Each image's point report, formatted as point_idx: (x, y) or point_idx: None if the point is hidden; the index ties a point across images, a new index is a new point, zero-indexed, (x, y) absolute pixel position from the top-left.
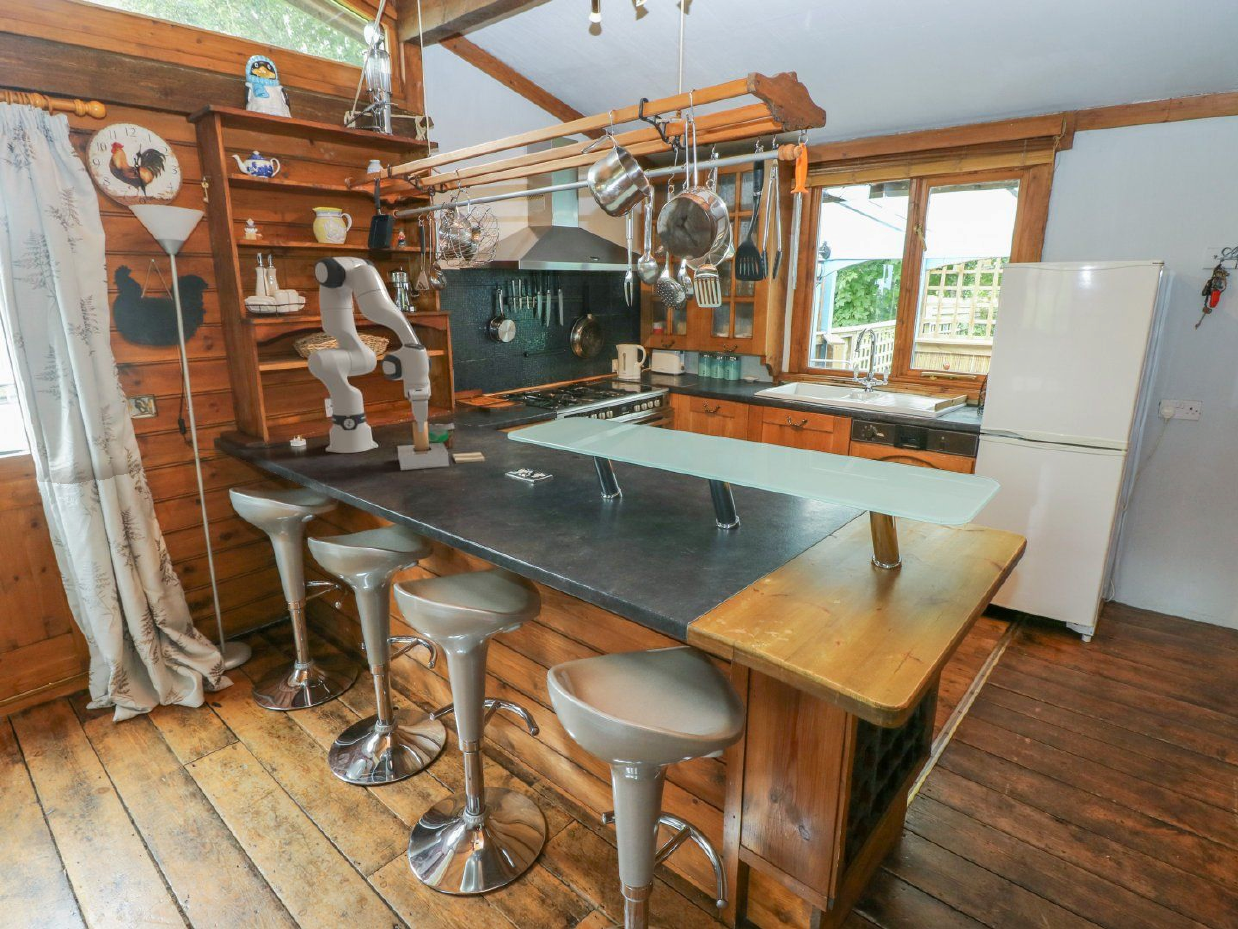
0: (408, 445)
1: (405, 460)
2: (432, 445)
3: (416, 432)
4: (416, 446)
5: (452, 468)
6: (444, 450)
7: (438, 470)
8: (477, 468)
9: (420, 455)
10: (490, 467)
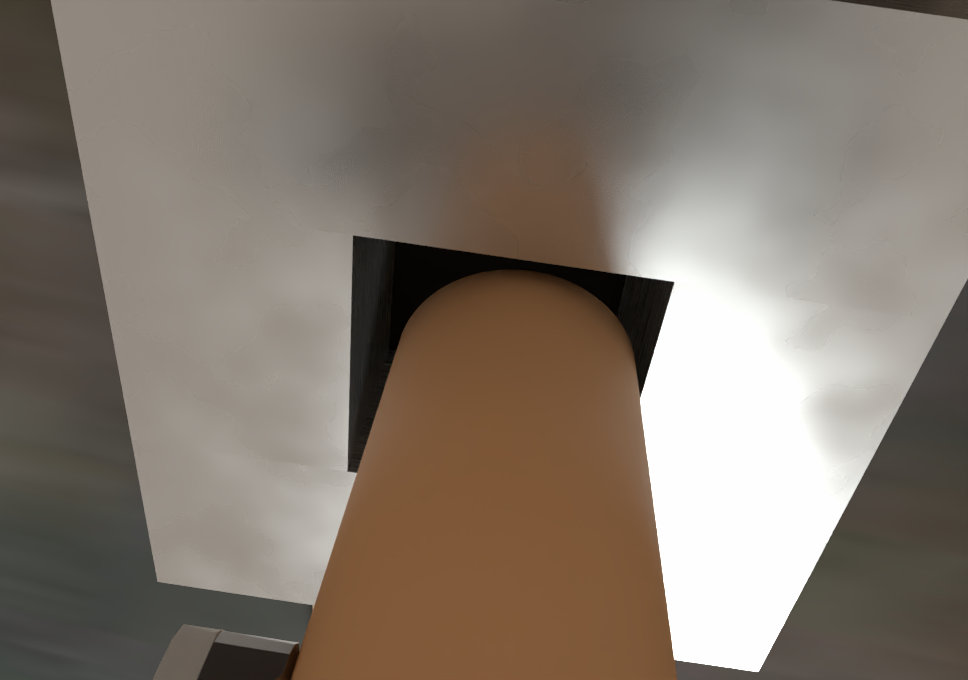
0: (956, 259)
1: None
2: (664, 548)
3: (339, 576)
4: (429, 336)
5: (123, 456)
6: (274, 578)
7: (66, 329)
8: (76, 601)
9: (110, 270)
10: (89, 668)
